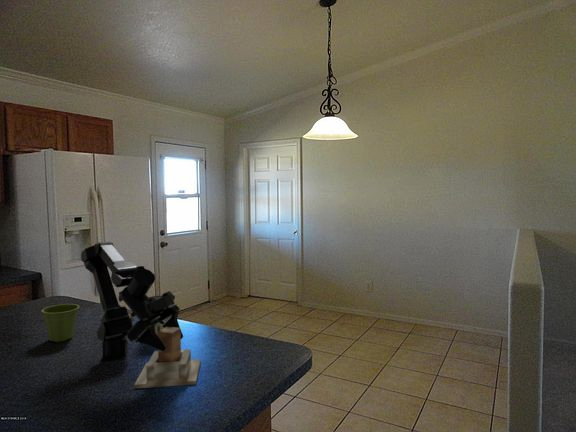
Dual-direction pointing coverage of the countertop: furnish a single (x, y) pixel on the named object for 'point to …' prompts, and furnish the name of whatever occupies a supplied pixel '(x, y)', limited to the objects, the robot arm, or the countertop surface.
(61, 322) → the plant pot
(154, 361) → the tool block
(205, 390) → the countertop surface
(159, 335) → the wooden peg
